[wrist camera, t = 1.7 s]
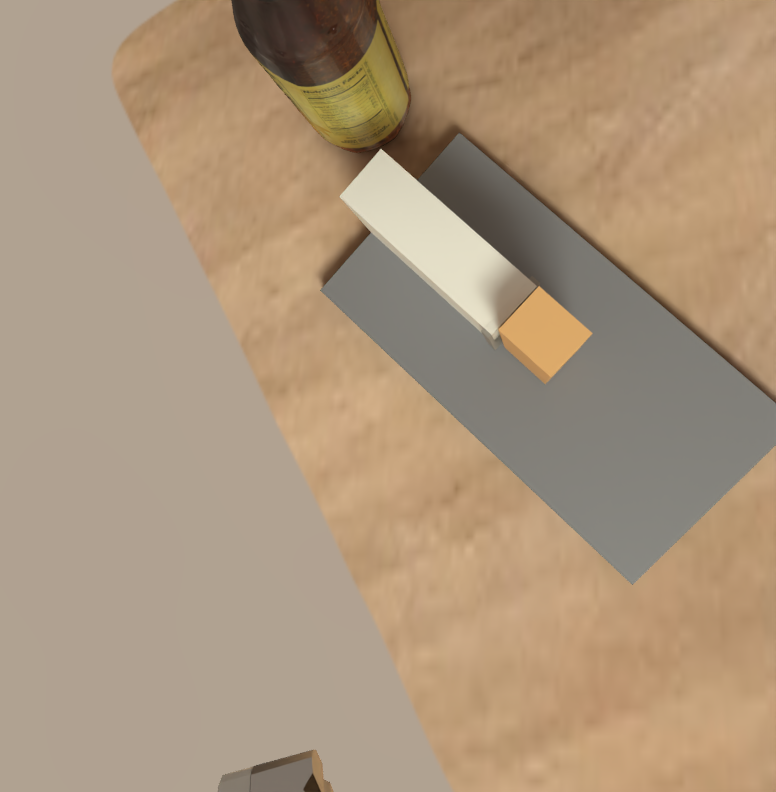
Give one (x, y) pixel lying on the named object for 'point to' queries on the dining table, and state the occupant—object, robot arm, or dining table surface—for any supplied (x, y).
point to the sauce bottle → (331, 65)
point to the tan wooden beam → (543, 335)
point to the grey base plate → (575, 381)
